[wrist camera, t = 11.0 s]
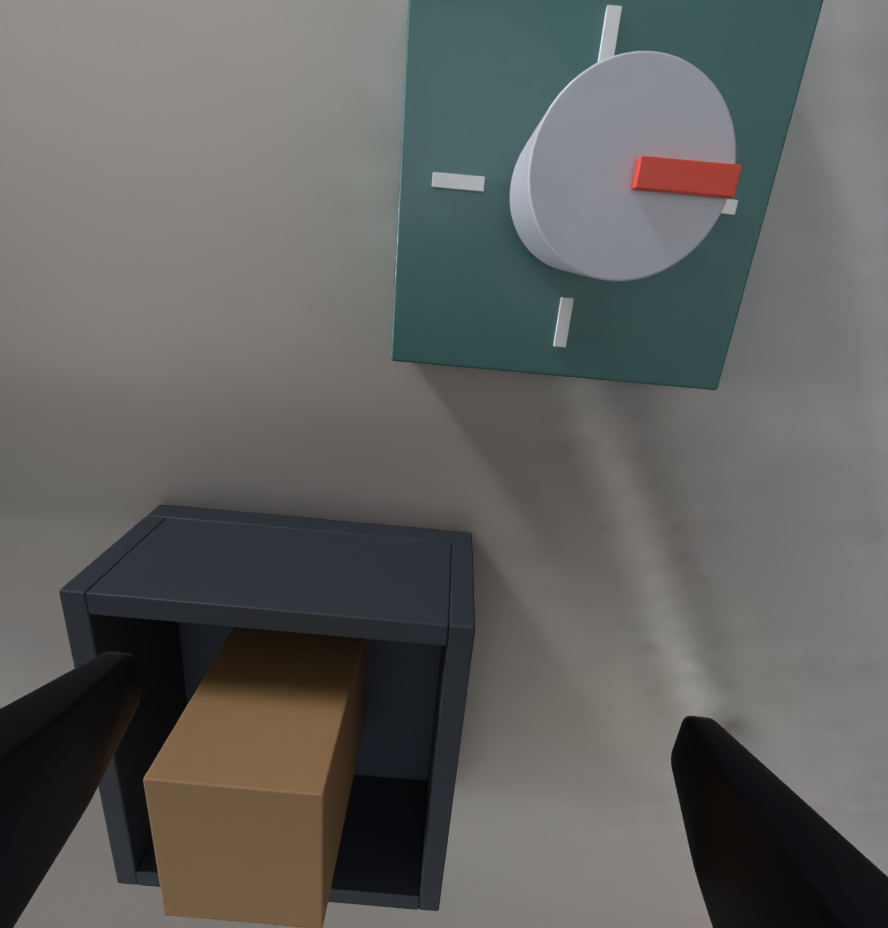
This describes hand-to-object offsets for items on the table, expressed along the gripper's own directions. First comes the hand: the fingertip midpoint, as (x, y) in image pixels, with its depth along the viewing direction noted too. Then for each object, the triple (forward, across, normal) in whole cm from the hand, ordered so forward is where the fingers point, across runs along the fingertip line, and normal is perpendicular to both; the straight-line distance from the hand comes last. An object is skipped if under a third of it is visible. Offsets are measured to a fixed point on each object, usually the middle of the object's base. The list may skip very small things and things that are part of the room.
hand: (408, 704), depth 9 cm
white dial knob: (+10, -3, -9) cm, 13 cm away
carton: (+12, +5, +10) cm, 16 cm away
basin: (+13, +5, +10) cm, 17 cm away
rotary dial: (+13, -3, -9) cm, 16 cm away
